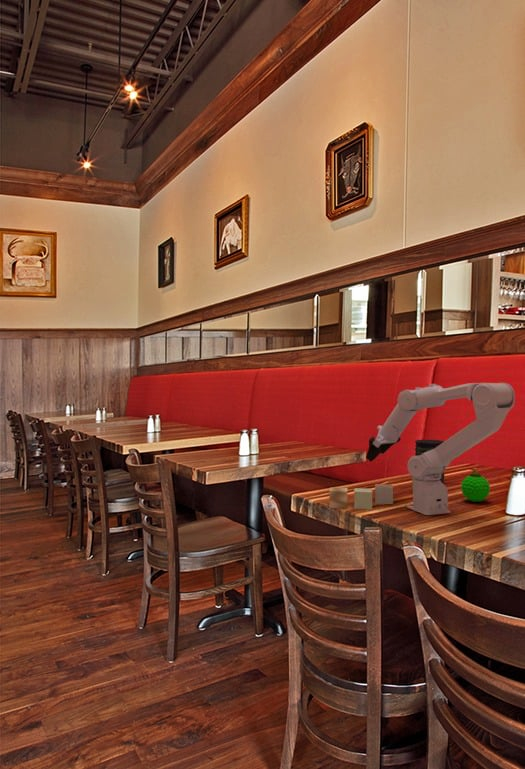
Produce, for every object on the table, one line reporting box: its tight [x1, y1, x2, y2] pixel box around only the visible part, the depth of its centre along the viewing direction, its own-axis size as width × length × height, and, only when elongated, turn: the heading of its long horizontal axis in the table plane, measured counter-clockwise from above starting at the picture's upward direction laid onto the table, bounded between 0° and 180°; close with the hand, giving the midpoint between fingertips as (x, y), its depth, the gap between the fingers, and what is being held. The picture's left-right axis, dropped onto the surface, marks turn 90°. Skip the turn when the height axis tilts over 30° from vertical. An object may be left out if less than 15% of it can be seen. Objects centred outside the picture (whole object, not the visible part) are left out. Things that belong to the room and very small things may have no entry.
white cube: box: [374, 483, 394, 505], centre depth 162 cm, size 5×5×5 cm
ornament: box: [460, 467, 491, 503], centre depth 162 cm, size 8×8×10 cm
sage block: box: [353, 487, 373, 511], centre depth 156 cm, size 5×5×5 cm
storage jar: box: [414, 439, 445, 485], centre depth 190 cm, size 10×10×15 cm
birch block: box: [328, 487, 349, 510], centre depth 157 cm, size 5×5×5 cm
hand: (374, 455), depth 167 cm, fingers open, 7 cm apart
